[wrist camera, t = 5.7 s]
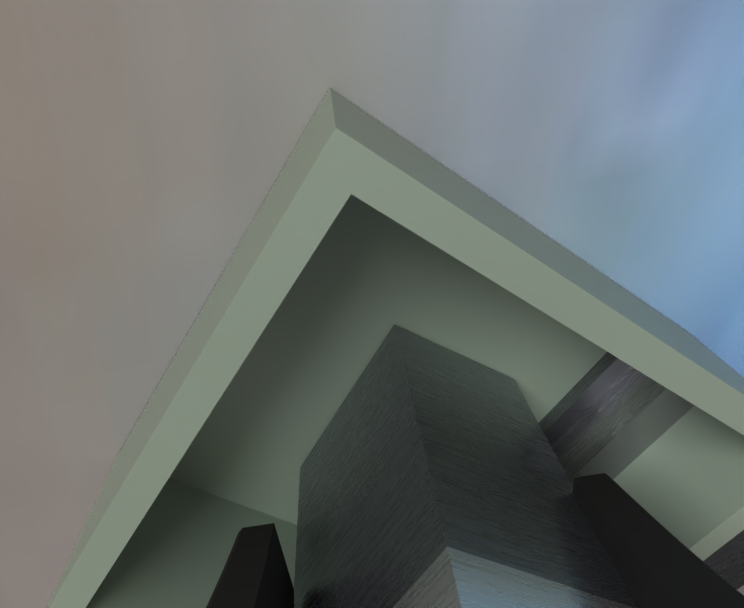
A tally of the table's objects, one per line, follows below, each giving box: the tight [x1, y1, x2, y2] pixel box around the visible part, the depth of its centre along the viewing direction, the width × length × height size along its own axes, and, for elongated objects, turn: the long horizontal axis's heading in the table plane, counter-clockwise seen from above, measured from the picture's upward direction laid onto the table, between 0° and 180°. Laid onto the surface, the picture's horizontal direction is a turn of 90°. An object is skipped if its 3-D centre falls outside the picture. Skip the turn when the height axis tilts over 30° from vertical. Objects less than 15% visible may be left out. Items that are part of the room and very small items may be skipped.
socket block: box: [539, 352, 744, 595], centre depth 16 cm, size 10×10×2 cm
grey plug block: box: [294, 324, 638, 608], centre depth 11 cm, size 4×5×7 cm
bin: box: [46, 88, 744, 608], centre depth 12 cm, size 11×11×5 cm
